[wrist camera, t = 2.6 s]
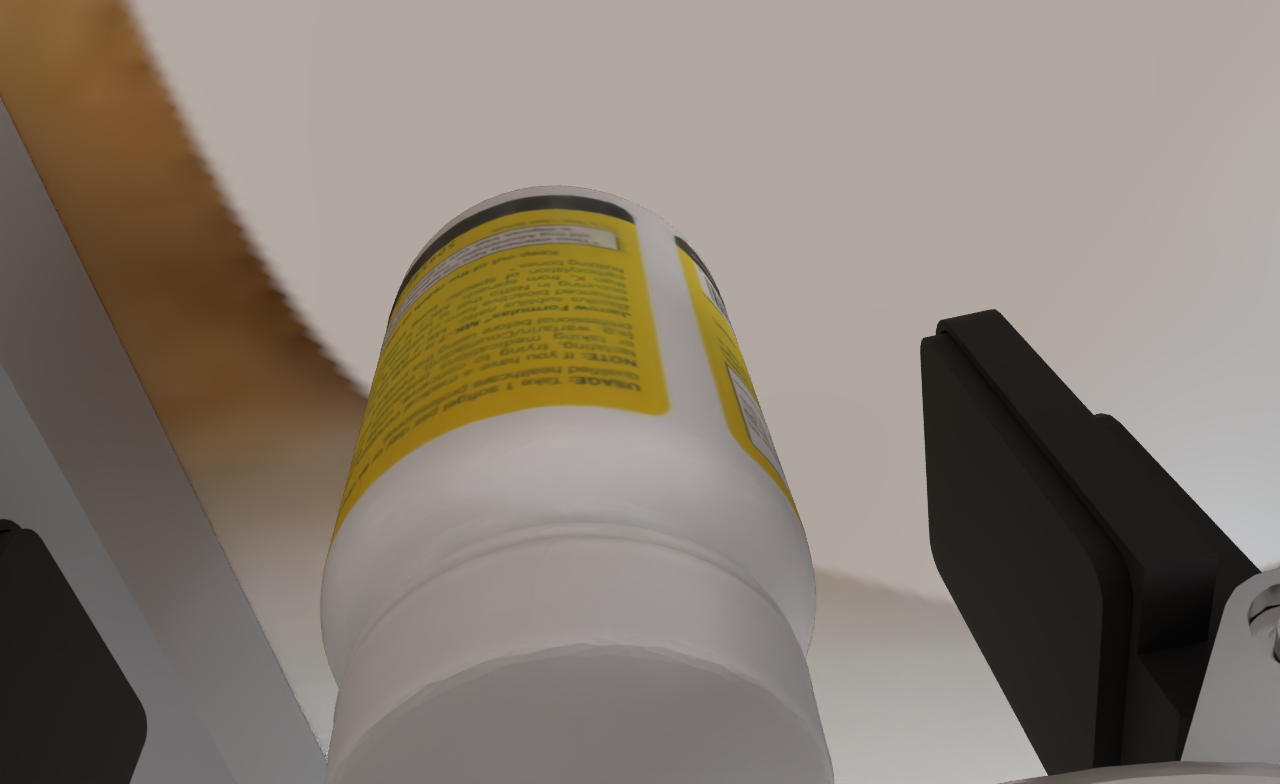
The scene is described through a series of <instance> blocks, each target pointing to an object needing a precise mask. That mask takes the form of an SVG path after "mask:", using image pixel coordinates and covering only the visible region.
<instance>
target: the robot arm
mask: <svg viewBox="0 0 1280 784" xmlns="http://www.w3.org/2000/svg"><path fill="white" fill-rule="evenodd" d="M920 347H921V348H920V354H921V355H920V356H921V375H922V396H923V415H924V435H925V455H926V476H927V496H928V516H929V536H930V545H931V550H932V554H933V558H934V561H935V564H936V567H937V569H938V571H939V573H940V575H941V577H942V579H943V581H944V583H945V585H946V587H947V589H948V590H949V592H950V594H951V596H952V598H953V600H954V602H955V603H956V605H957V607H958V609H959V611H960V613H961V614H962V616H963V618H964V620H965V622H966V624H967V626H968V627H969V629H970V631H971V633H972V635H973V637H974V639H975V640H976V642H977V644H978V646H979V648H980V650H981V652H982V653H983V655H984V657H985V659H986V661H987V663H988V665H989V666H990V668H991V670H992V672H993V674H994V676H995V678H996V679H997V681H998V683H999V685H1000V687H1001V689H1002V691H1003V692H1004V694H1005V696H1006V698H1007V700H1008V702H1009V704H1010V705H1011V707H1012V709H1013V711H1014V713H1015V715H1016V717H1017V718H1018V720H1019V722H1020V724H1021V726H1022V728H1023V729H1024V731H1025V733H1026V735H1027V737H1028V739H1029V741H1030V742H1031V744H1032V746H1033V748H1034V750H1035V752H1036V754H1037V755H1038V757H1039V759H1040V761H1041V763H1042V765H1043V767H1044V768H1045V770H1046V772H1047V774H1048V776H1044V777H1037V778H1030V779H1023V780H1016V781H1010V782H1004V783H999V784H1280V568H1278V569H1274V570H1271V571H1267V572H1264V573H1262V572H1261V571H1260V570H1259V569H1258V568H1257V567H1256V566H1255V565H1254V564H1253V563H1252V562H1251V561H1250V560H1249V559H1248V558H1247V556H1246V555H1245V554H1244V553H1243V552H1242V551H1241V550H1240V549H1239V548H1238V547H1237V546H1236V545H1235V544H1234V543H1233V542H1232V541H1231V540H1230V539H1229V537H1228V536H1227V535H1226V534H1225V533H1224V532H1223V531H1222V530H1221V529H1220V528H1219V527H1218V526H1217V525H1216V524H1215V523H1214V522H1213V520H1212V519H1211V518H1210V517H1209V516H1208V515H1207V514H1206V513H1205V512H1204V511H1203V510H1202V509H1201V508H1200V507H1199V506H1198V505H1197V504H1196V502H1195V501H1194V500H1193V499H1192V498H1191V497H1190V496H1189V495H1188V494H1187V493H1186V492H1185V491H1184V490H1183V489H1182V488H1181V487H1180V486H1179V484H1178V483H1177V482H1176V481H1175V480H1174V479H1173V478H1172V477H1171V476H1170V475H1169V474H1168V473H1167V472H1166V471H1165V470H1164V469H1163V468H1162V467H1161V465H1160V464H1159V463H1158V462H1157V461H1156V460H1155V459H1154V458H1153V457H1152V456H1151V455H1150V454H1149V453H1148V452H1147V451H1146V450H1145V448H1144V447H1143V446H1142V445H1141V444H1140V443H1139V442H1138V441H1137V440H1136V439H1135V438H1134V437H1133V436H1132V435H1131V434H1130V433H1129V432H1128V430H1127V429H1126V428H1125V427H1124V426H1123V425H1122V424H1121V423H1120V422H1118V421H1117V420H1116V419H1115V418H1113V417H1112V416H1111V415H1107V414H1102V413H1101V414H1096V415H1093V414H1092V413H1091V412H1090V411H1089V410H1088V409H1087V408H1086V406H1085V405H1084V404H1083V403H1082V402H1081V401H1080V400H1079V399H1078V398H1077V397H1076V395H1075V394H1074V393H1073V392H1072V391H1071V390H1070V389H1069V388H1068V387H1067V386H1066V384H1065V383H1064V382H1063V381H1062V380H1061V379H1060V378H1059V377H1058V376H1057V375H1056V374H1055V372H1054V371H1053V370H1052V369H1051V368H1050V367H1049V366H1048V365H1047V364H1046V363H1045V362H1044V360H1043V359H1042V358H1041V357H1040V356H1039V355H1038V354H1037V353H1036V352H1035V351H1034V350H1033V349H1032V347H1031V346H1030V345H1029V344H1028V343H1027V342H1026V341H1025V340H1024V338H1023V337H1022V336H1021V335H1020V334H1019V333H1018V332H1017V331H1016V330H1015V329H1014V328H1013V326H1012V325H1011V324H1010V323H1009V322H1008V321H1007V320H1006V319H1005V318H1004V317H1003V315H1002V314H1001V313H999V312H998V311H997V310H995V309H993V310H986V311H981V312H977V313H972V314H968V315H963V316H958V317H953V318H948V319H944V320H940V321H939V323H938V324H937V329H936V335H935V336H930V337H925V338H923V340H922V342H921V346H920ZM146 737H147V717H146V713H145V710H144V708H143V705H142V703H141V702H140V700H139V698H138V697H137V695H136V693H135V692H134V690H133V688H132V687H131V685H130V683H129V682H128V680H127V679H126V677H125V675H124V674H123V672H122V670H121V669H120V667H119V665H118V664H117V662H116V660H115V659H114V657H113V655H112V654H111V652H110V651H109V649H108V647H107V646H106V644H105V642H104V641H103V639H102V637H101V636H100V634H99V632H98V631H97V629H96V627H95V626H94V624H93V622H92V621H91V619H90V618H89V616H88V614H87V613H86V611H85V609H84V608H83V606H82V604H81V603H80V601H79V599H78V598H77V596H76V594H75V593H74V591H73V590H72V588H71V586H70V585H69V583H68V581H67V580H66V578H65V576H64V575H63V573H62V571H61V570H60V568H59V566H58V565H57V563H56V562H55V560H54V558H53V557H52V555H51V553H50V552H49V550H48V548H47V547H46V545H45V543H44V542H43V540H42V539H41V537H40V536H39V535H38V534H37V533H36V532H35V531H33V530H32V529H27V528H24V529H22V528H21V527H20V526H19V525H18V524H16V523H15V522H13V521H12V520H7V519H0V784H130V781H131V778H132V776H133V773H134V771H135V768H136V765H137V763H138V760H139V757H140V755H141V752H142V749H143V747H144V744H145V741H146Z"/></svg>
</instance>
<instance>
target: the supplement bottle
mask: <svg viewBox="0 0 1280 784" xmlns="http://www.w3.org/2000/svg"><path fill="white" fill-rule="evenodd" d="M815 609H816V587H815V575H814V570H813V565H812V560H811V555H810V551H809V546H808V542H807V538H806V534H805V531H804V528H803V525H802V522H801V520H800V517H799V515H798V512H797V509H796V506H795V503H794V500H793V498H792V495H791V492H790V489H789V487H788V484H787V481H786V478H785V475H784V472H783V470H782V467H781V464H780V462H779V459H778V456H777V453H776V450H775V447H774V445H773V442H772V439H771V436H770V433H769V429H768V427H767V424H766V422H765V419H764V416H763V413H762V411H761V408H760V405H759V402H758V399H757V397H756V394H755V391H754V388H753V385H752V382H751V379H750V376H749V374H748V371H747V368H746V365H745V362H744V359H743V356H742V354H741V351H740V349H739V346H738V343H737V340H736V337H735V333H734V331H733V329H732V326H731V322H730V320H729V318H728V315H727V312H726V309H725V305H724V302H723V300H722V298H721V296H720V293H719V290H718V288H717V286H716V284H715V282H714V280H713V277H712V275H711V273H710V271H709V269H708V268H707V266H706V264H705V263H704V261H703V260H702V258H701V257H700V255H699V254H698V253H697V251H696V250H695V249H694V247H693V246H692V245H691V244H690V243H689V242H688V241H687V240H686V239H685V238H684V236H683V235H681V234H680V233H679V232H678V231H677V230H676V229H675V228H674V227H673V226H671V225H670V224H669V223H667V222H666V221H665V220H664V219H662V218H661V217H659V216H658V215H656V214H654V213H653V212H651V211H649V210H647V209H646V208H643V207H641V206H640V205H638V204H635V203H633V202H630V201H628V200H625V199H622V198H620V197H617V196H614V195H612V194H608V193H604V192H600V191H595V190H591V189H586V188H578V187H570V186H540V187H531V188H525V189H519V190H515V191H511V192H508V193H504V194H501V195H498V196H496V197H493V198H491V199H488V200H485V201H483V202H481V203H479V204H477V205H475V206H473V207H472V208H470V209H468V210H466V211H465V212H463V213H462V214H460V215H459V216H457V217H456V218H454V219H453V220H451V221H450V222H449V223H448V224H446V225H445V226H444V227H443V228H442V229H441V230H440V231H439V232H438V233H437V234H436V235H435V236H434V237H433V238H432V239H431V240H430V241H429V242H428V243H427V244H426V246H425V247H424V248H423V249H422V250H421V252H420V253H419V254H418V256H417V257H416V259H415V260H414V261H413V263H412V264H411V266H410V268H409V269H408V271H407V273H406V275H405V277H404V280H403V282H402V284H401V286H400V289H399V291H398V294H397V296H396V299H395V302H394V304H393V307H392V311H391V314H390V317H389V321H388V326H387V330H386V334H385V337H384V341H383V345H382V348H381V352H380V357H379V361H378V365H377V368H376V372H375V376H374V379H373V383H372V387H371V391H370V395H369V399H368V403H367V407H366V410H365V413H364V417H363V421H362V425H361V429H360V433H359V437H358V441H357V445H356V448H355V452H354V456H353V460H352V464H351V467H350V471H349V475H348V479H347V483H346V486H345V490H344V494H343V498H342V502H341V505H340V509H339V513H338V517H337V521H336V525H335V528H334V532H333V536H332V540H331V544H330V548H329V551H328V555H327V559H326V563H325V567H324V572H323V580H322V587H321V628H322V637H323V643H324V648H325V653H326V656H327V660H328V663H329V666H330V668H331V670H332V673H333V675H334V678H335V680H336V682H337V685H338V687H339V692H338V696H337V701H336V706H335V713H334V727H333V732H332V737H331V742H330V750H329V757H328V765H327V770H326V776H325V781H324V784H834V774H833V768H832V763H831V758H830V754H829V751H828V748H827V744H826V740H825V737H824V733H823V729H822V725H821V721H820V717H819V713H818V709H817V705H816V701H815V697H814V693H813V686H812V683H811V679H810V675H809V670H808V666H807V663H806V660H805V658H806V655H807V651H808V648H809V645H810V641H811V638H812V634H813V629H814V620H815Z"/></svg>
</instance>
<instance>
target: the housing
mask: <svg viewBox="0 0 1280 784" xmlns="http://www.w3.org/2000/svg"><path fill="white" fill-rule="evenodd" d="M0 519H7V520H12V521H13V522H15V523H16V524H18V525H19V526H20V527H21V528H22V529H24V528H27V529H32V530H33V531H35V532H36V533H37V534H38V535H39V536H40V537H41V539H42V540H43V542H44V543H45V545H46V547H47V548H48V550H49V552H50V553H51V555H52V557H53V558H54V560H55V562H56V563H57V565H58V566H59V568H60V570H61V571H62V573H63V575H64V576H65V578H66V580H67V581H68V583H69V585H70V586H71V588H72V590H73V591H74V593H75V594H76V596H77V598H78V599H79V601H80V603H81V604H82V606H83V608H84V609H85V611H86V613H87V614H88V616H89V618H90V619H91V621H92V622H93V624H94V626H95V627H96V629H97V631H98V632H99V634H100V636H101V637H102V639H103V641H104V642H105V644H106V646H107V647H108V649H109V651H110V652H111V654H112V655H113V657H114V659H115V660H116V662H117V664H118V665H119V667H120V669H121V670H122V672H123V674H124V675H125V677H126V679H127V680H128V682H129V683H130V685H131V687H132V688H133V690H134V692H135V693H136V695H137V697H138V698H139V700H140V702H141V703H142V705H143V708H144V710H145V713H146V717H147V737H146V741H145V744H144V747H143V749H142V752H141V755H140V757H139V760H138V763H137V765H136V768H135V771H134V773H133V776H132V778H131V781H130V784H324V781H325V776H326V770H327V765H328V763H327V761H326V759H325V757H324V755H323V753H322V751H321V749H320V747H319V745H318V743H317V741H316V739H315V737H314V735H313V733H312V731H311V729H310V727H309V725H308V723H307V721H306V719H305V717H304V715H303V712H302V710H301V708H300V706H299V704H298V702H297V700H296V698H295V696H294V694H293V692H292V690H291V688H290V686H289V684H288V682H287V680H286V678H285V676H284V674H283V672H282V670H281V668H280V666H279V664H278V662H277V660H276V657H275V655H274V653H273V651H272V649H271V647H270V645H269V643H268V641H267V639H266V637H265V635H264V633H263V631H262V629H261V627H260V625H259V623H258V621H257V619H256V617H255V615H254V613H253V611H252V609H251V607H250V605H249V602H248V600H247V598H246V596H245V594H244V592H243V590H242V588H241V586H240V584H239V582H238V580H237V578H236V576H235V574H234V572H233V570H232V568H231V566H230V564H229V562H228V560H227V558H226V556H225V554H224V552H223V549H222V547H221V545H220V543H219V541H218V539H217V537H216V535H215V533H214V531H213V529H212V527H211V525H210V523H209V521H208V519H207V517H206V515H205V513H204V511H203V509H202V507H201V505H200V503H199V501H198V499H197V497H196V494H195V492H194V490H193V488H192V486H191V484H190V482H189V480H188V478H187V476H186V474H185V472H184V470H183V468H182V466H181V464H180V462H179V460H178V458H177V456H176V454H175V452H174V450H173V448H172V446H171V444H170V441H169V439H168V437H167V435H166V433H165V431H164V429H163V427H162V425H161V423H160V421H159V419H158V417H157V415H156V413H155V411H154V409H153V407H152V405H151V403H150V401H149V399H148V397H147V395H146V393H145V391H144V389H143V386H142V384H141V382H140V380H139V378H138V376H137V374H136V372H135V370H134V368H133V366H132V364H131V362H130V360H129V358H128V356H127V354H126V352H125V350H124V348H123V346H122V344H121V342H120V340H119V338H118V336H117V334H116V331H115V329H114V327H113V325H112V323H111V321H110V319H109V317H108V315H107V313H106V311H105V309H104V307H103V305H102V303H101V301H100V299H99V297H98V295H97V293H96V291H95V289H94V287H93V285H92V283H91V281H90V278H89V276H88V274H87V272H86V270H85V268H84V266H83V264H82V262H81V260H80V258H79V256H78V254H77V252H76V250H75V248H74V246H73V244H72V242H71V240H70V238H69V236H68V234H67V232H66V230H65V228H64V226H63V223H62V221H61V219H60V217H59V215H58V213H57V211H56V209H55V207H54V205H53V203H52V201H51V199H50V197H49V195H48V193H47V191H46V189H45V187H44V185H43V183H42V181H41V179H40V177H39V175H38V173H37V171H36V168H35V166H34V164H33V162H32V160H31V158H30V156H29V154H28V152H27V150H26V148H25V146H24V144H23V142H22V140H21V138H20V136H19V134H18V132H17V130H16V128H15V126H14V124H13V122H12V120H11V118H10V115H9V113H8V111H7V109H6V107H5V105H4V103H3V101H2V99H1V97H0Z"/></svg>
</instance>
